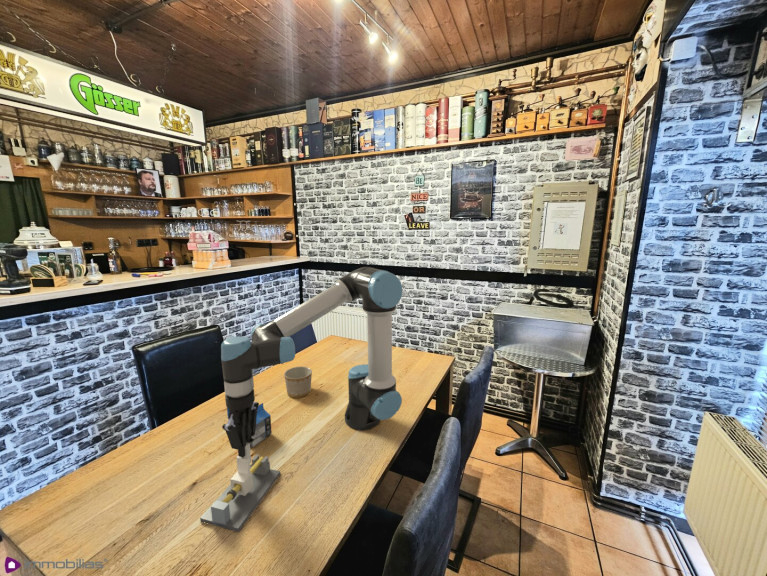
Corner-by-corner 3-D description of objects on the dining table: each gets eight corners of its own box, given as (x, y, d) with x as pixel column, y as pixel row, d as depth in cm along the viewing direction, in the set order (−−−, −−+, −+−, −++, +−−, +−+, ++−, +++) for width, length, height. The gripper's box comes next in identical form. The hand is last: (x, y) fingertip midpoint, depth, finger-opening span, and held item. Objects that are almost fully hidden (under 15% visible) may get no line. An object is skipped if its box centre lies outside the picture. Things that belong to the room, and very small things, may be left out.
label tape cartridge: (252, 448, 113) (250, 417, 110) (245, 444, 115) (242, 414, 112) (272, 434, 121) (270, 405, 118) (265, 431, 122) (263, 402, 120)
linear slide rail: (280, 474, 101) (279, 457, 100) (238, 532, 82) (236, 512, 81) (248, 467, 104) (246, 451, 103) (200, 521, 85) (198, 502, 84)
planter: (279, 396, 147) (278, 375, 145) (296, 383, 159) (295, 364, 156) (301, 402, 142) (301, 381, 140) (317, 388, 154) (317, 369, 152)
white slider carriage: (253, 486, 94) (250, 457, 92) (245, 495, 90) (242, 466, 88) (239, 482, 95) (237, 454, 93) (231, 492, 91) (228, 463, 89)
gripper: (243, 378, 96) (249, 445, 101) (210, 401, 83) (219, 476, 88) (265, 381, 94) (269, 450, 99) (235, 405, 82) (241, 482, 86)
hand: (245, 462), depth 93 cm, fingers closed
